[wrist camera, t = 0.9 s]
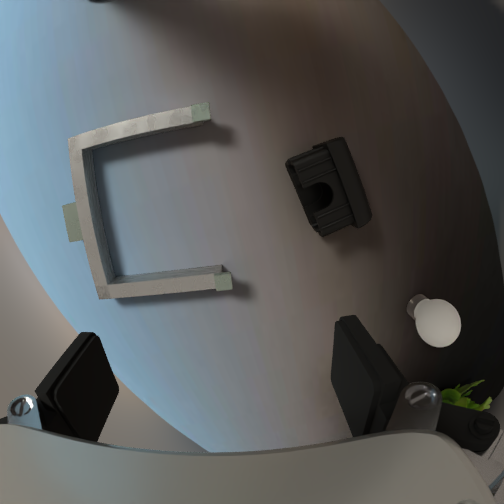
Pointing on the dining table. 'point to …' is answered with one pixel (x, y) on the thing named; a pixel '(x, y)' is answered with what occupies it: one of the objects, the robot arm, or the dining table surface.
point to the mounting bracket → (90, 219)
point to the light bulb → (435, 320)
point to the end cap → (329, 187)
